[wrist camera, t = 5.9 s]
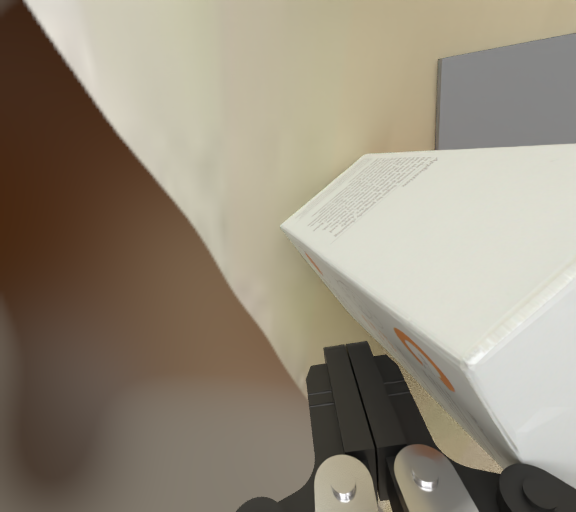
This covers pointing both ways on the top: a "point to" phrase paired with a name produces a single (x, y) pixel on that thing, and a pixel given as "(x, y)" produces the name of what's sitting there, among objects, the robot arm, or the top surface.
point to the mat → (508, 96)
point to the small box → (464, 284)
